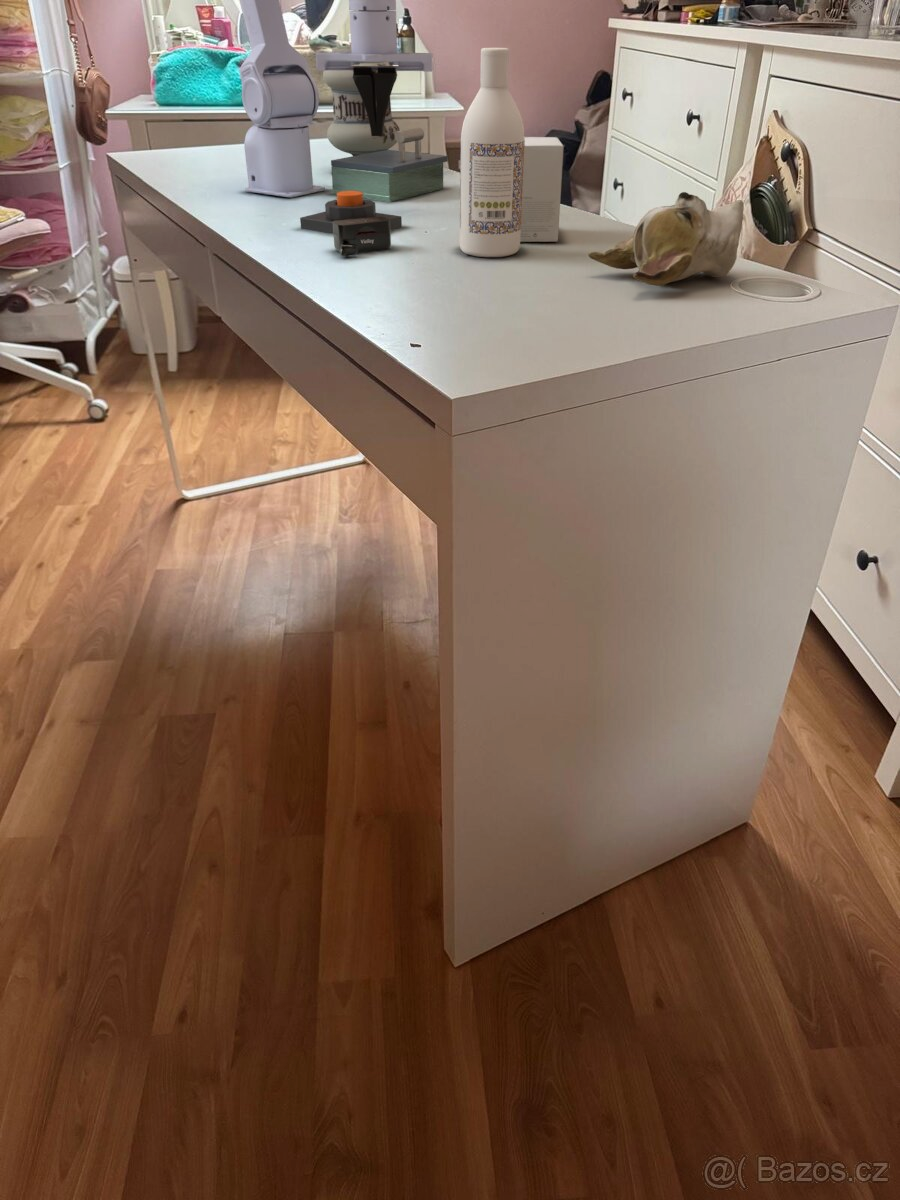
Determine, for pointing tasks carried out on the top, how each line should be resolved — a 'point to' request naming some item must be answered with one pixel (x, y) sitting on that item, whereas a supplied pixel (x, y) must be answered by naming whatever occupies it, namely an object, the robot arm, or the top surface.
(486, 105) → the bath foam
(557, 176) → the small box
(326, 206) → the control block
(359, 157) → the lid
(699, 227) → the ceramic sculpture
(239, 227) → the top surface
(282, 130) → the robot arm
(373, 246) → the dark grey gadget
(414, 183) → the green hinged box
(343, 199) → the button
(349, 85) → the apothecary jar
